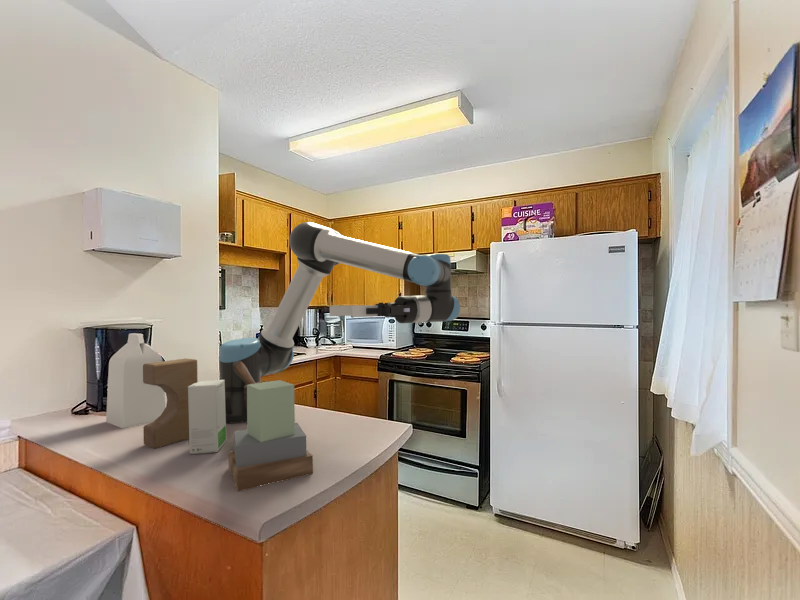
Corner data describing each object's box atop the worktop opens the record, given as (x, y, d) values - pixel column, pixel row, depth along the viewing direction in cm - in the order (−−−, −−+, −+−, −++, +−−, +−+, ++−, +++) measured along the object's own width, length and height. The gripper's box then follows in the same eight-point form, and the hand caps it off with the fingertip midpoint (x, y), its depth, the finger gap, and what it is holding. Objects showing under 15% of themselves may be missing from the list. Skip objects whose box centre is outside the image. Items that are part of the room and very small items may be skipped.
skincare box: (217, 453, 91) (216, 385, 92) (186, 455, 90) (185, 386, 90) (227, 440, 100) (226, 378, 100) (199, 442, 99) (198, 379, 99)
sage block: (247, 433, 81) (246, 384, 81) (279, 426, 86) (279, 380, 86) (260, 442, 76) (260, 389, 76) (294, 434, 81) (294, 384, 81)
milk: (106, 421, 118) (105, 334, 119) (148, 412, 128) (147, 332, 128) (123, 428, 112) (122, 335, 112) (166, 418, 121) (165, 333, 121)
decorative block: (153, 449, 94) (152, 365, 95) (142, 445, 98) (141, 363, 98) (199, 436, 103) (198, 359, 104) (188, 432, 107) (187, 358, 107)
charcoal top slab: (234, 450, 83) (234, 431, 83) (297, 440, 89) (297, 422, 89) (236, 467, 74) (236, 446, 74) (306, 455, 80) (306, 435, 80)
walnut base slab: (228, 470, 83) (228, 451, 83) (295, 456, 90) (295, 438, 90) (238, 494, 72) (237, 471, 72) (312, 475, 79) (312, 455, 79)
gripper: (439, 324, 100) (364, 328, 88) (388, 321, 121) (322, 324, 109) (438, 294, 100) (363, 294, 88) (387, 297, 121) (321, 297, 110)
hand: (340, 311), depth 99 cm, fingers open, 13 cm apart
